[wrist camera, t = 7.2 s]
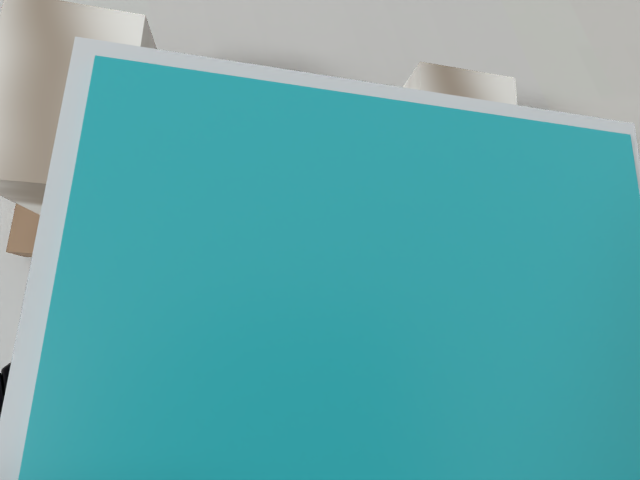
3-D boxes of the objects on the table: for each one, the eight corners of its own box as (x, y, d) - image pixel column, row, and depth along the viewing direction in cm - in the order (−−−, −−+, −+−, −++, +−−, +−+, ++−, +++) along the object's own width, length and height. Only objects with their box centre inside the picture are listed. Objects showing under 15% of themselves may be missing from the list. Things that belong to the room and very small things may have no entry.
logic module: (336, 399, 14) (755, 788, 3) (200, 400, 13) (-131, 1012, 2) (339, 269, 15) (645, 117, 4) (213, 262, 14) (69, 25, 3)
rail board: (459, 123, 26) (538, 51, 19) (466, 281, 24) (560, 266, 17) (61, 67, 21) (-29, -55, 14) (24, 256, 19) (-106, 222, 12)
